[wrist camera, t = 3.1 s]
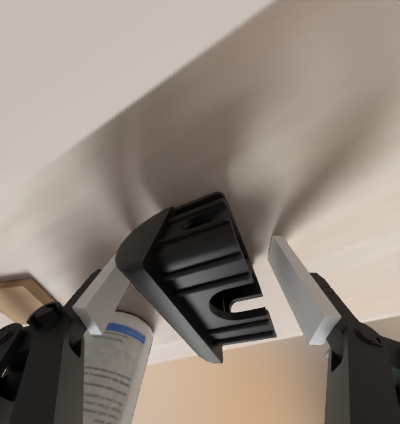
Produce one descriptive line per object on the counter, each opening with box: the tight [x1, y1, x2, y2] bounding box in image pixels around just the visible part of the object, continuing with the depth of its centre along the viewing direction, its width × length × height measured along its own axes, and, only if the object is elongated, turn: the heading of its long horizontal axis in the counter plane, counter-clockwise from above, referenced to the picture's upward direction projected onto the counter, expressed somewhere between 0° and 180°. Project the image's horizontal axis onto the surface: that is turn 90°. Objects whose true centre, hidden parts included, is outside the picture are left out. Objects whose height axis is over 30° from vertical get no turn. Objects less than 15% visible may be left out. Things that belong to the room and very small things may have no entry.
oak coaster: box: [0, 279, 56, 324], centre depth 19 cm, size 7×7×1 cm
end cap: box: [115, 192, 277, 363], centre depth 11 cm, size 10×7×7 cm
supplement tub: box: [83, 311, 153, 424], centre depth 15 cm, size 10×10×15 cm
